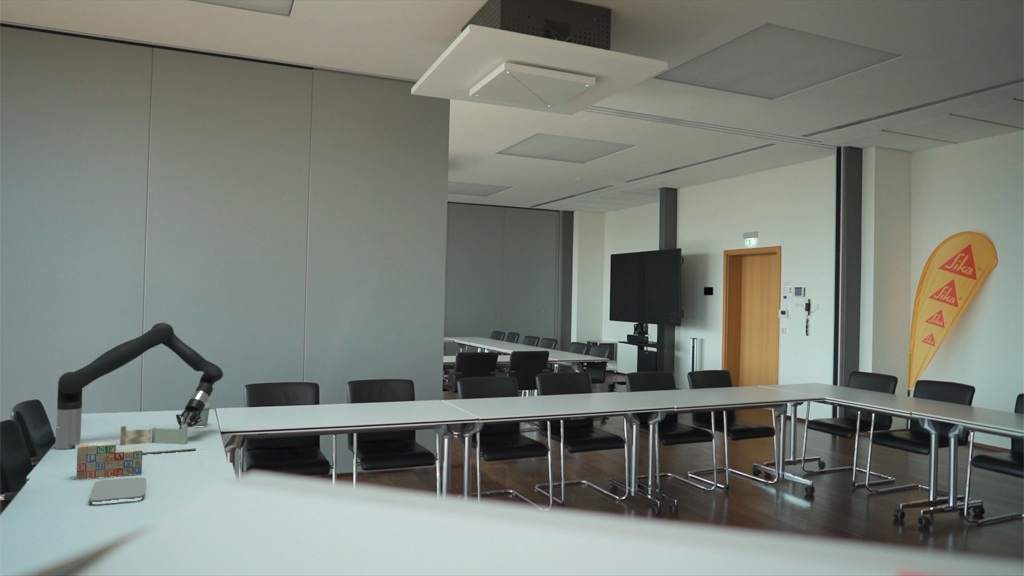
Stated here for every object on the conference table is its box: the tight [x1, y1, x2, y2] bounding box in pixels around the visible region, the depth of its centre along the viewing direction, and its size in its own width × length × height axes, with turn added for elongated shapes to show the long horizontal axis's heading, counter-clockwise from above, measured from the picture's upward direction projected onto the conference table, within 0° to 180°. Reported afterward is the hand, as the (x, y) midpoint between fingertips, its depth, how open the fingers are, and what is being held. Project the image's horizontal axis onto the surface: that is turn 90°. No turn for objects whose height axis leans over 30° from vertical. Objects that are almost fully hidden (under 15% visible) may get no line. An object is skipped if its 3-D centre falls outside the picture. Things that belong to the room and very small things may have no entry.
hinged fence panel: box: [150, 425, 189, 445], centre depth 310 cm, size 16×2×8 cm, turn 87°
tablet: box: [88, 476, 147, 502], centre depth 236 cm, size 16×26×2 cm, turn 27°
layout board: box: [142, 448, 197, 456], centre depth 306 cm, size 30×27×1 cm
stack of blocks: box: [75, 441, 143, 480], centre depth 259 cm, size 21×6×12 cm, turn 117°
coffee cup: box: [194, 402, 211, 427], centre depth 358 cm, size 9×9×12 cm
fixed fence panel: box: [119, 425, 152, 446], centre depth 307 cm, size 12×2×8 cm, turn 122°
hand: (180, 433), depth 311 cm, fingers closed
